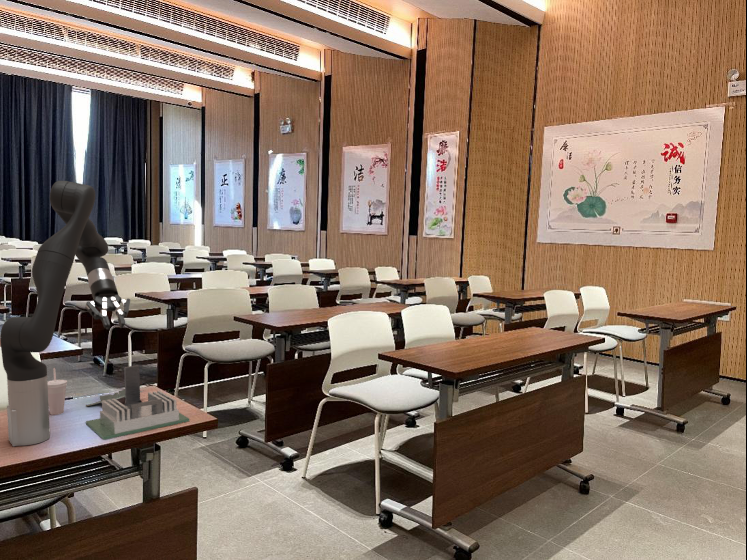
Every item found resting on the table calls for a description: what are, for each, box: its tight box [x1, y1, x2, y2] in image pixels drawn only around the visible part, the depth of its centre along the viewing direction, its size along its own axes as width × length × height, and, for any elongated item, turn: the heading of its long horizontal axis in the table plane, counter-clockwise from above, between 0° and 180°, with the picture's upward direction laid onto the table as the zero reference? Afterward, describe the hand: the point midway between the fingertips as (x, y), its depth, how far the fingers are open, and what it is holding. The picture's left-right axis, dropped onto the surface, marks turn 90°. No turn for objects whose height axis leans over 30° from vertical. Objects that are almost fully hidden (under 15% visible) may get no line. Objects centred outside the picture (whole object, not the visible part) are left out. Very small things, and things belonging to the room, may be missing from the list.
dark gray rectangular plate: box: [123, 364, 142, 406], centre depth 175 cm, size 4×1×12 cm, turn 131°
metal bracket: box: [85, 389, 144, 407], centre depth 192 cm, size 14×6×15 cm
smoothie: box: [47, 367, 68, 416], centre depth 181 cm, size 6×6×14 cm
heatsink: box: [85, 390, 190, 441], centre depth 172 cm, size 24×17×8 cm
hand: (115, 326), depth 184 cm, fingers open, 3 cm apart
